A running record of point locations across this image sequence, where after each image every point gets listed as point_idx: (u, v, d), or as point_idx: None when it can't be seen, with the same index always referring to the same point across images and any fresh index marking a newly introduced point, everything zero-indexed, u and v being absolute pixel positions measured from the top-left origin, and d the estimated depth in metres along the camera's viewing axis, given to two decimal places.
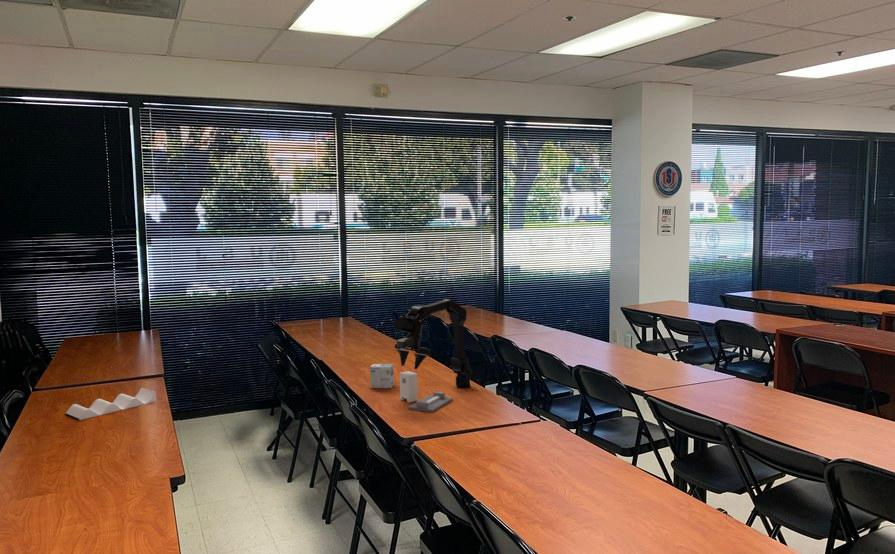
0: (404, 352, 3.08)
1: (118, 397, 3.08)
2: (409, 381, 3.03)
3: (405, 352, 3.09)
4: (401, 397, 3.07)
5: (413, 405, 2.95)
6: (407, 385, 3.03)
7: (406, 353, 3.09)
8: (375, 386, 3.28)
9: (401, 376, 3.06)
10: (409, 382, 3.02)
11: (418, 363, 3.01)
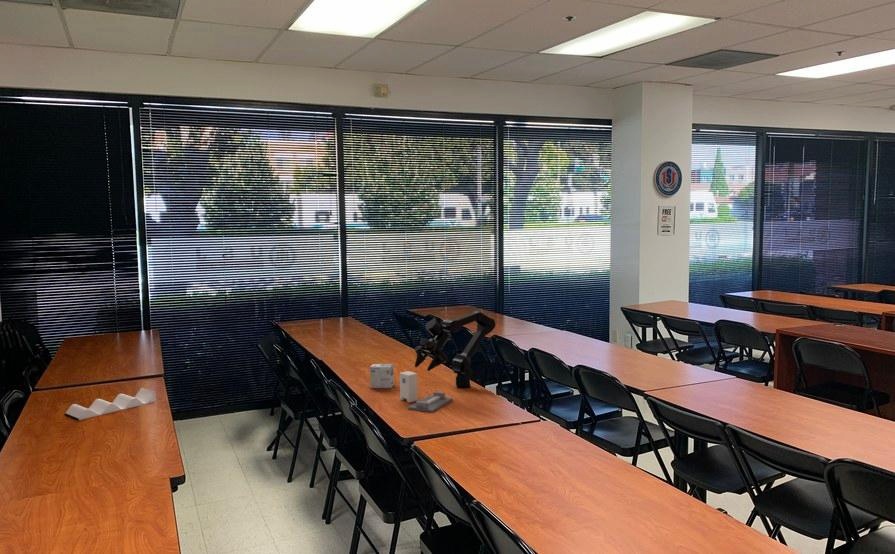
0: (421, 356, 3.17)
1: (118, 397, 3.08)
2: (409, 381, 3.03)
3: (422, 357, 3.17)
4: (401, 397, 3.07)
5: (413, 405, 2.95)
6: (407, 385, 3.03)
7: (423, 358, 3.18)
8: (375, 386, 3.28)
9: (401, 376, 3.06)
10: (409, 382, 3.02)
11: (432, 366, 3.08)
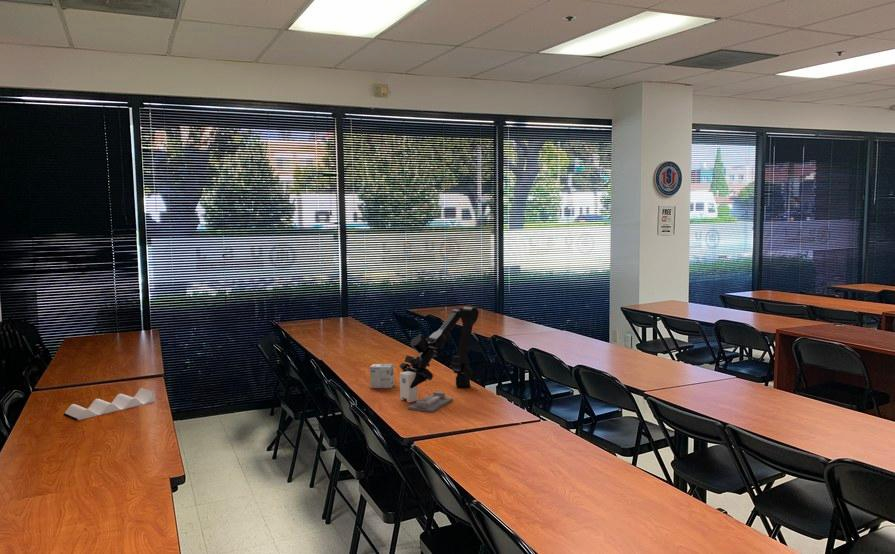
0: None
1: (117, 397, 3.08)
2: (409, 381, 3.03)
3: None
4: (401, 397, 3.07)
5: (413, 405, 2.95)
6: (407, 385, 3.03)
7: None
8: (375, 386, 3.28)
9: (401, 376, 3.06)
10: (409, 382, 3.02)
11: (415, 383, 3.04)
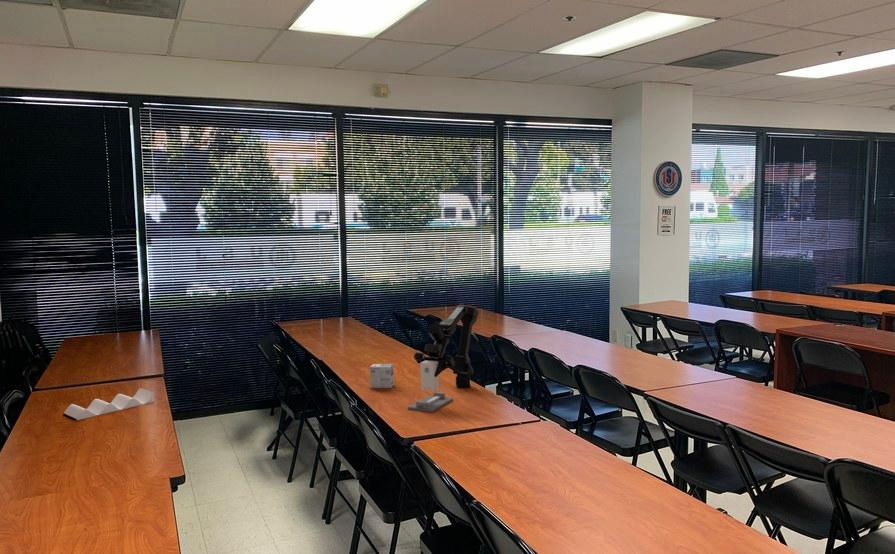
0: None
1: (116, 397, 3.08)
2: (434, 370, 2.95)
3: None
4: (422, 387, 2.98)
5: (413, 405, 2.95)
6: (431, 374, 2.95)
7: None
8: (375, 386, 3.28)
9: (422, 366, 2.96)
10: (433, 371, 2.94)
11: (439, 371, 2.97)
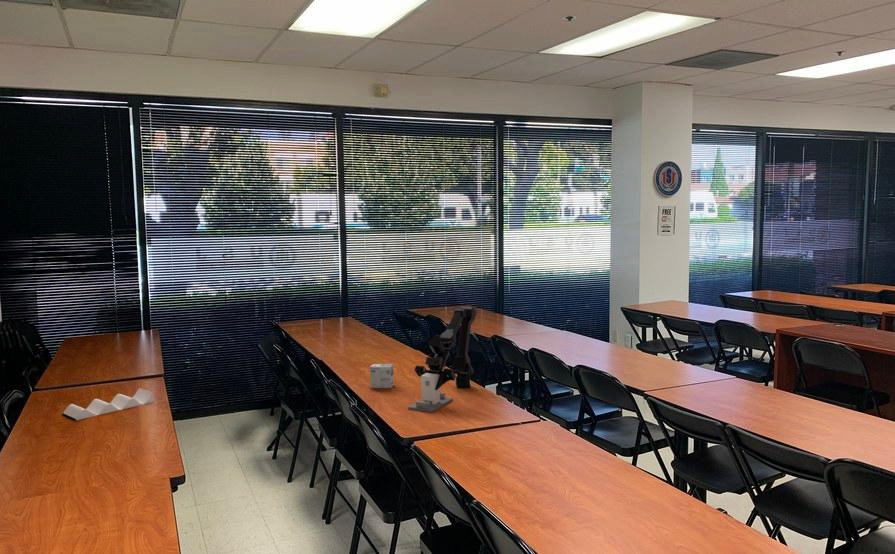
0: None
1: (116, 397, 3.08)
2: (434, 383, 2.95)
3: None
4: (423, 400, 2.98)
5: (413, 405, 2.95)
6: (432, 387, 2.95)
7: None
8: (375, 386, 3.28)
9: (423, 379, 2.97)
10: (434, 384, 2.95)
11: (439, 385, 2.97)
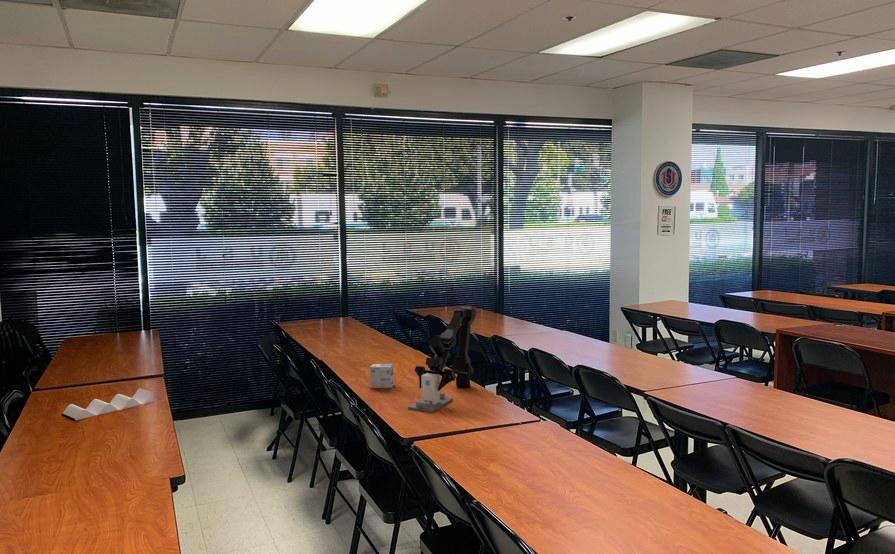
0: None
1: (115, 397, 3.08)
2: (435, 383, 2.95)
3: None
4: (423, 400, 2.98)
5: (413, 405, 2.95)
6: (432, 387, 2.95)
7: None
8: (375, 386, 3.28)
9: (423, 379, 2.97)
10: (434, 384, 2.95)
11: (442, 385, 2.96)
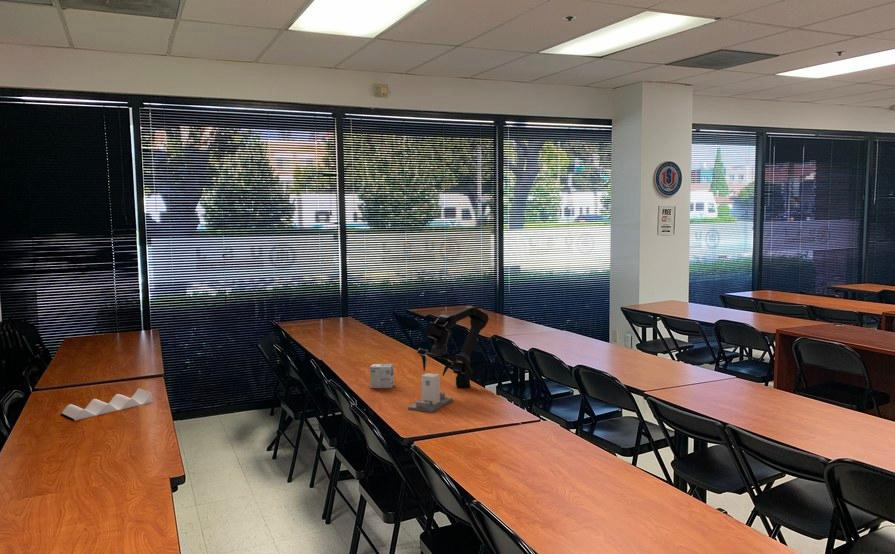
0: (426, 358, 3.15)
1: (114, 397, 3.08)
2: (435, 383, 2.95)
3: (426, 358, 3.15)
4: (423, 400, 2.98)
5: (413, 405, 2.95)
6: (432, 387, 2.95)
7: (426, 359, 3.16)
8: (375, 386, 3.28)
9: (423, 379, 2.97)
10: (434, 384, 2.95)
11: (446, 370, 3.13)
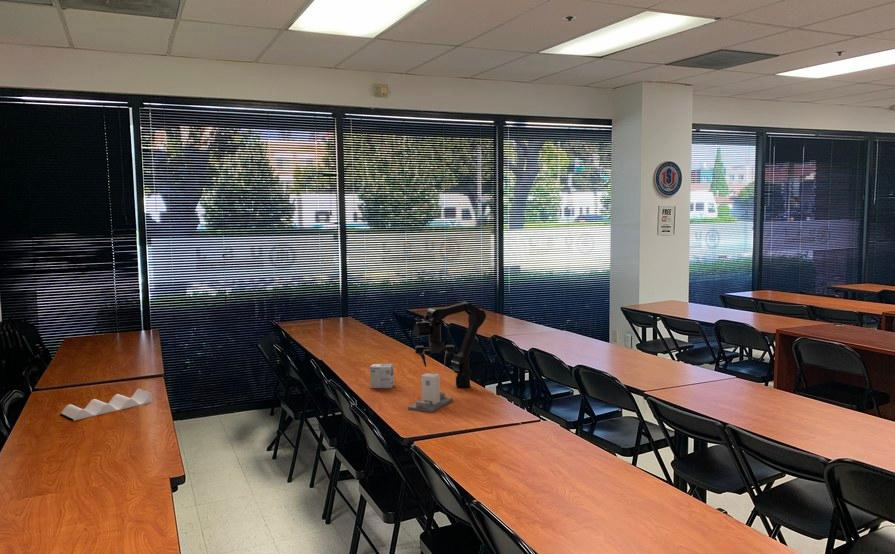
0: (424, 354, 3.19)
1: (114, 397, 3.07)
2: (435, 383, 2.95)
3: (424, 354, 3.19)
4: (423, 400, 2.98)
5: (413, 405, 2.95)
6: (432, 387, 2.95)
7: (424, 354, 3.20)
8: (375, 386, 3.28)
9: (423, 379, 2.97)
10: (434, 384, 2.95)
11: (446, 360, 3.20)
